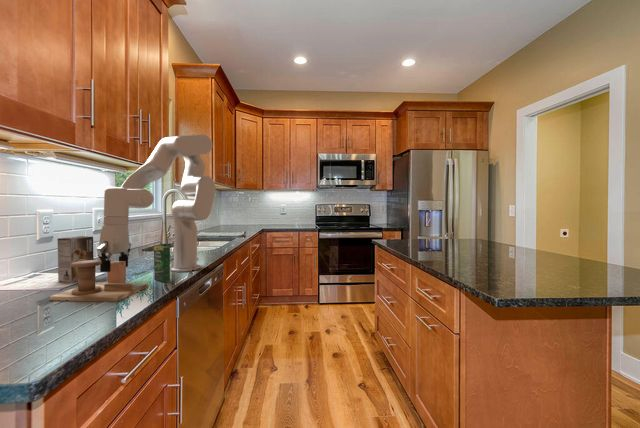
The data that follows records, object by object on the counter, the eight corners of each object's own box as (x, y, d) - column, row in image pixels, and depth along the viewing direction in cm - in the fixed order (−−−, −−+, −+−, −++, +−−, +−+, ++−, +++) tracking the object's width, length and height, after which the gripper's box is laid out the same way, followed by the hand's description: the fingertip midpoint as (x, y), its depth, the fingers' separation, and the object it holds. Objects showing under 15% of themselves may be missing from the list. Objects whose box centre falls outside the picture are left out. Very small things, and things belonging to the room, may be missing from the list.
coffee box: (80, 276, 124) (80, 235, 124) (94, 277, 123) (94, 236, 122) (57, 281, 115) (56, 238, 115) (71, 282, 114) (71, 238, 113)
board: (91, 285, 110) (91, 276, 110) (148, 286, 110) (148, 277, 110) (49, 300, 93) (49, 289, 93) (116, 301, 93) (116, 291, 93)
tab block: (114, 282, 115) (114, 260, 115) (125, 282, 115) (125, 260, 115) (107, 285, 111) (107, 262, 111) (118, 285, 111) (118, 262, 111)
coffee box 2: (153, 279, 121) (153, 245, 121) (160, 278, 124) (160, 244, 123) (162, 282, 116) (162, 247, 116) (170, 281, 118) (170, 247, 118)
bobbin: (83, 288, 103) (83, 260, 102) (107, 288, 103) (107, 260, 102) (65, 294, 95) (64, 264, 95) (90, 295, 95) (89, 264, 95)
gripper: (121, 220, 121) (119, 265, 121) (87, 221, 104) (86, 273, 104) (140, 221, 121) (139, 265, 121) (110, 222, 104) (108, 274, 104)
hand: (114, 269), depth 113 cm, fingers open, 9 cm apart
